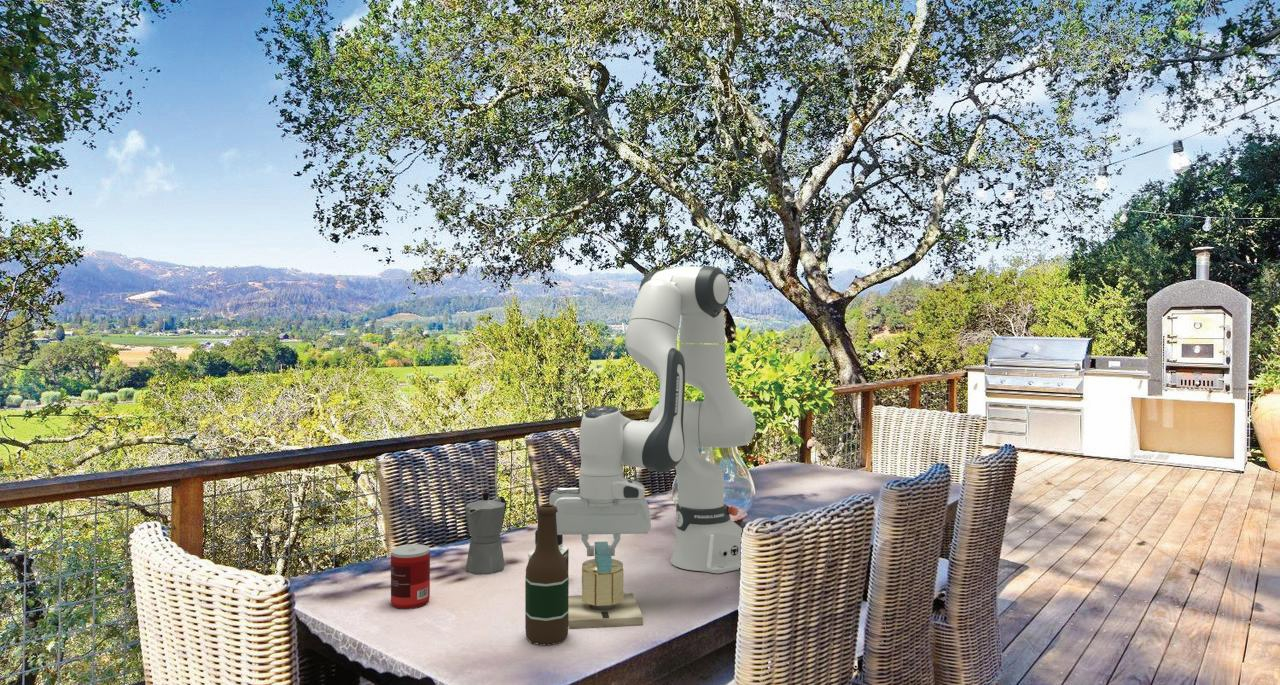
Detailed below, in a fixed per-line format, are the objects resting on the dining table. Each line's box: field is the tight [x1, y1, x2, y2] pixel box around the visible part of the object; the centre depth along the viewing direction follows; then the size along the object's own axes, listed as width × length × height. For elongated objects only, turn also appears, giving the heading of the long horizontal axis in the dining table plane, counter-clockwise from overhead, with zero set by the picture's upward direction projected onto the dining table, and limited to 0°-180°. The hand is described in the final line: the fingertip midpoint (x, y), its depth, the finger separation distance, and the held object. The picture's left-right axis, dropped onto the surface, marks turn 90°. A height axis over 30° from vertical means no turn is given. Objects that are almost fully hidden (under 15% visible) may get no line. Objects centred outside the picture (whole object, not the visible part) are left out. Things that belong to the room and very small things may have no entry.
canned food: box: [390, 543, 431, 610], centre depth 162 cm, size 8×8×11 cm
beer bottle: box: [524, 503, 570, 646], centre depth 144 cm, size 8×8×24 cm
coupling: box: [581, 541, 625, 606], centre depth 156 cm, size 8×11×10 cm
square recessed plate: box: [568, 592, 644, 629], centre depth 156 cm, size 14×14×6 cm
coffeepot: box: [465, 491, 507, 575], centre depth 186 cm, size 15×9×18 cm, turn 159°
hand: (600, 555), depth 160 cm, fingers open, 3 cm apart
